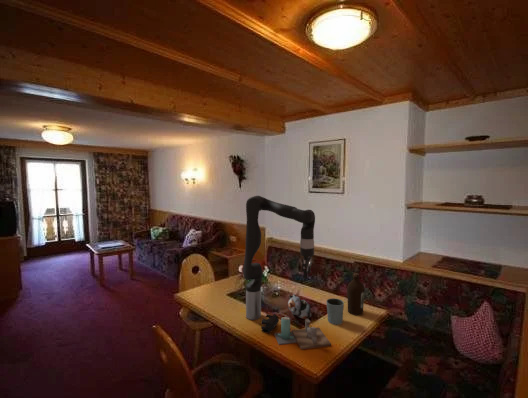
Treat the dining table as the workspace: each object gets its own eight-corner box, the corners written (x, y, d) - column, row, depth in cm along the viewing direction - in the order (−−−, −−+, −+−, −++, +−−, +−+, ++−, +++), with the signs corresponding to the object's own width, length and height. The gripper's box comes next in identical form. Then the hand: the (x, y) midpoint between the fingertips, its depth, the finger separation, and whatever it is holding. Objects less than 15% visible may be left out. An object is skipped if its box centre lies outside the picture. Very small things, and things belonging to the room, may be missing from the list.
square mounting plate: (291, 332, 156) (291, 318, 156) (318, 329, 160) (319, 315, 159) (301, 349, 141) (301, 334, 140) (330, 345, 144) (331, 330, 143)
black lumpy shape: (272, 334, 154) (272, 322, 154) (260, 332, 157) (260, 320, 156) (278, 326, 163) (279, 314, 163) (267, 323, 166) (267, 312, 166)
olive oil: (345, 313, 178) (346, 275, 176) (348, 306, 188) (349, 270, 186) (362, 317, 173) (363, 277, 171) (365, 310, 183) (366, 272, 181)
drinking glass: (340, 327, 162) (341, 307, 161) (323, 322, 167) (324, 302, 166) (345, 319, 171) (345, 300, 170) (329, 315, 176) (329, 296, 175)
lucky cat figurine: (311, 321, 169) (301, 303, 165) (293, 325, 173) (283, 308, 169) (312, 303, 182) (303, 286, 179) (295, 308, 186) (286, 291, 183)
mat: (274, 334, 154) (274, 333, 154) (291, 332, 156) (291, 331, 156) (278, 344, 145) (278, 343, 145) (297, 342, 147) (297, 341, 147)
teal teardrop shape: (276, 338, 150) (276, 318, 149) (279, 333, 154) (279, 314, 154) (292, 341, 147) (292, 321, 146) (294, 336, 151) (294, 317, 151)
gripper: (303, 243, 162) (303, 270, 163) (297, 248, 148) (297, 279, 149) (316, 244, 159) (316, 272, 160) (311, 250, 146) (311, 280, 147)
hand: (307, 275), depth 155 cm, fingers open, 8 cm apart
